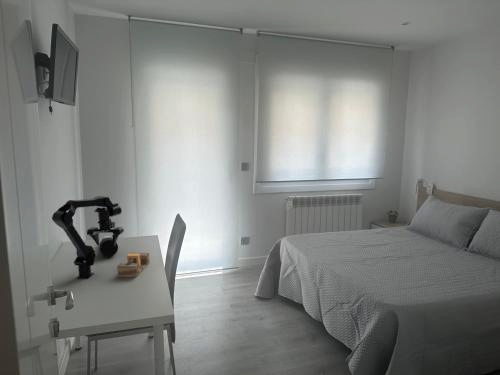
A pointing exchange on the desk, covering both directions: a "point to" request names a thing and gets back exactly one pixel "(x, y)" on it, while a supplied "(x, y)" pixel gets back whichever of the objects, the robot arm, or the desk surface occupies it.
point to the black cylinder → (108, 246)
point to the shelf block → (133, 266)
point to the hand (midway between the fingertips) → (106, 245)
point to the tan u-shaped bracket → (134, 257)
